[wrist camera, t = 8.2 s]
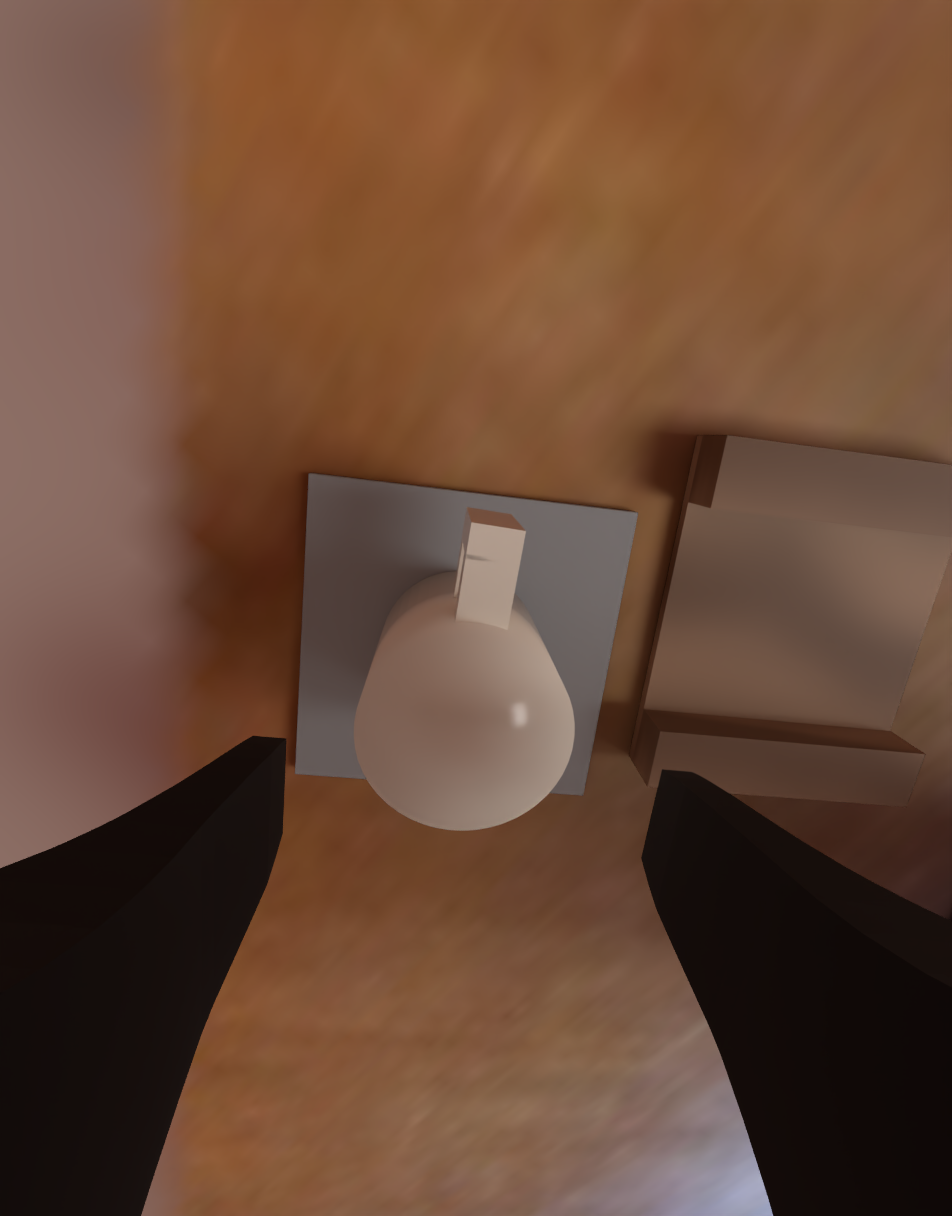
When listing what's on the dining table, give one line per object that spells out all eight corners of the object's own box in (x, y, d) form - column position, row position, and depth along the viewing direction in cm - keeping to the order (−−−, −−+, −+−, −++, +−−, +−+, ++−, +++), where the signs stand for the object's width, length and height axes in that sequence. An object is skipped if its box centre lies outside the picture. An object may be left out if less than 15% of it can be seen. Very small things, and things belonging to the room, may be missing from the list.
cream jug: (521, 726, 20) (551, 841, 14) (372, 707, 20) (342, 818, 14) (563, 514, 18) (618, 549, 13) (401, 487, 18) (379, 511, 12)
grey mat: (580, 789, 21) (583, 795, 21) (297, 767, 21) (295, 773, 20) (634, 511, 19) (638, 513, 18) (311, 473, 18) (308, 473, 18)
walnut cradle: (865, 775, 22) (906, 807, 20) (628, 755, 21) (647, 787, 19) (967, 470, 19) (1026, 475, 17) (697, 434, 18) (727, 435, 16)
